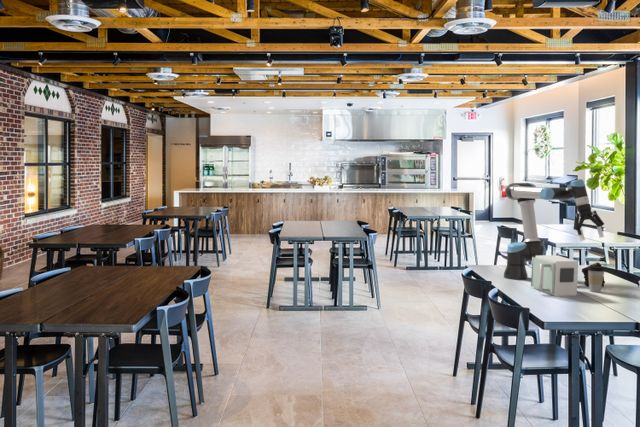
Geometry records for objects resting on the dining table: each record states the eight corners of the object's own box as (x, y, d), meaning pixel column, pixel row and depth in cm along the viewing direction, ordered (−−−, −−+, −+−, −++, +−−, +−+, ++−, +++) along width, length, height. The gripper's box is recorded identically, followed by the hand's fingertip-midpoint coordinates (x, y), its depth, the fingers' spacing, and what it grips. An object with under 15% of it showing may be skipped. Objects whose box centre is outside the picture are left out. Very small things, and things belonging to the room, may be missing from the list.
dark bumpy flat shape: (610, 284, 345) (600, 263, 345) (589, 293, 347) (580, 271, 346) (607, 283, 349) (597, 262, 348) (587, 291, 350) (577, 270, 350)
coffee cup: (596, 293, 327) (598, 268, 326) (582, 290, 335) (583, 266, 334) (607, 292, 331) (608, 267, 330) (593, 289, 339) (594, 264, 338)
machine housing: (533, 287, 342) (535, 255, 340) (555, 287, 344) (556, 255, 342) (554, 296, 319) (556, 261, 318) (577, 295, 321) (579, 261, 320)
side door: (521, 286, 341) (523, 257, 340) (532, 285, 342) (534, 256, 341) (541, 294, 319) (543, 263, 317) (553, 294, 320) (555, 263, 318)
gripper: (569, 205, 329) (579, 240, 325) (604, 200, 336) (614, 234, 332) (561, 208, 336) (570, 242, 333) (595, 203, 343) (605, 237, 339)
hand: (592, 238), depth 332 cm, fingers open, 13 cm apart
